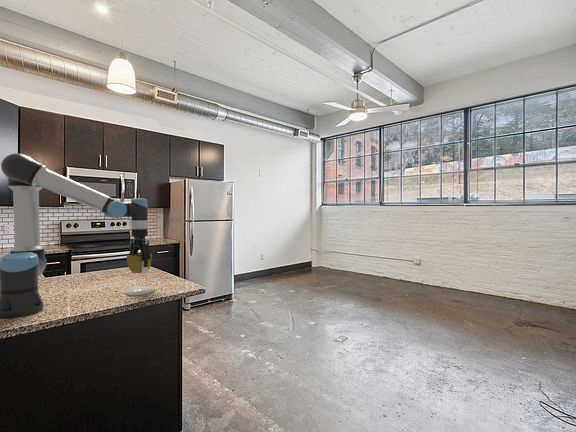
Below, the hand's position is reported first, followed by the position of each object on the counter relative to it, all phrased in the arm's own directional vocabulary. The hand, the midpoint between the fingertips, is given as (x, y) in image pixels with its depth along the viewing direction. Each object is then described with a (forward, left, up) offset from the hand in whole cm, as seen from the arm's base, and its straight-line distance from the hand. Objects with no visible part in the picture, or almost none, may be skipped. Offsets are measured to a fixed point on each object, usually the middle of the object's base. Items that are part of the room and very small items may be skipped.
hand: (139, 272), depth 158 cm
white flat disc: (0, 0, -10) cm, 10 cm away
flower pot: (0, 0, 0) cm, 0 cm away
